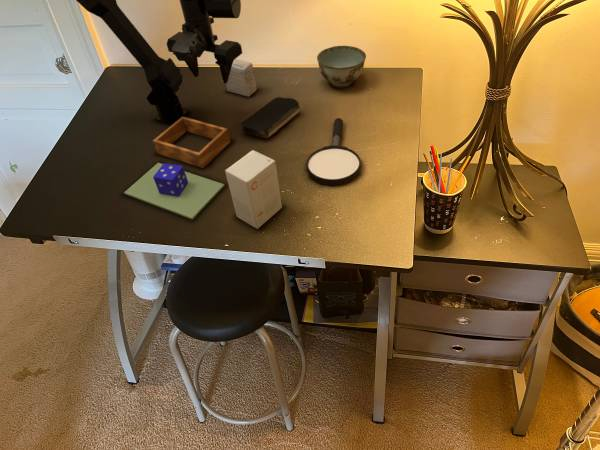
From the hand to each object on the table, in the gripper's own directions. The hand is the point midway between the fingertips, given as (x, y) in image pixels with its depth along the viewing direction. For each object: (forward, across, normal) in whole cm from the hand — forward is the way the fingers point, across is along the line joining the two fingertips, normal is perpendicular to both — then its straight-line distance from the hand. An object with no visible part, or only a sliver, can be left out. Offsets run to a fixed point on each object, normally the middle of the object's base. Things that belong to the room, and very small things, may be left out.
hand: (211, 79), depth 116 cm
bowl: (+12, +22, +30) cm, 39 cm away
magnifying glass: (+12, +35, -1) cm, 37 cm away
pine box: (+12, +1, -13) cm, 18 cm away
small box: (+12, +29, -26) cm, 41 cm away
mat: (+12, +7, -28) cm, 31 cm away
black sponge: (+12, +14, +4) cm, 19 cm away
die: (+12, +7, -28) cm, 31 cm away
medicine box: (+12, -3, +15) cm, 20 cm away
